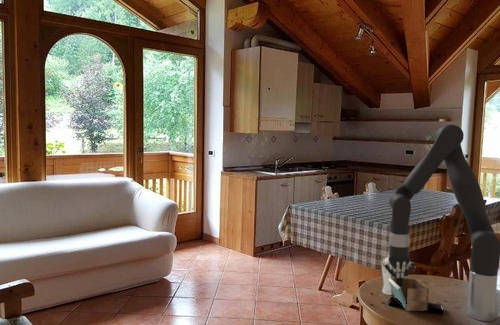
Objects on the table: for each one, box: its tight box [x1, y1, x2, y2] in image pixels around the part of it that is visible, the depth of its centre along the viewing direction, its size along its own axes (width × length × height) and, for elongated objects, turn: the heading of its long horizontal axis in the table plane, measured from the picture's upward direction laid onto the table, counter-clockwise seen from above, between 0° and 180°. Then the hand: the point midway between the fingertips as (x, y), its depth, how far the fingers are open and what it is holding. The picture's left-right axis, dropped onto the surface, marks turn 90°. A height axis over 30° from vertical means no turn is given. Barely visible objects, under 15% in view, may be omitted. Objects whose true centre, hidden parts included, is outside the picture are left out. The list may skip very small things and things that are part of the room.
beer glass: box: [381, 256, 395, 296], centre depth 178 cm, size 7×7×15 cm
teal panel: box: [388, 279, 407, 310], centre depth 166 cm, size 1×10×9 cm, turn 3°
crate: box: [400, 277, 430, 312], centre depth 166 cm, size 8×12×9 cm
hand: (398, 286), depth 166 cm, fingers closed
